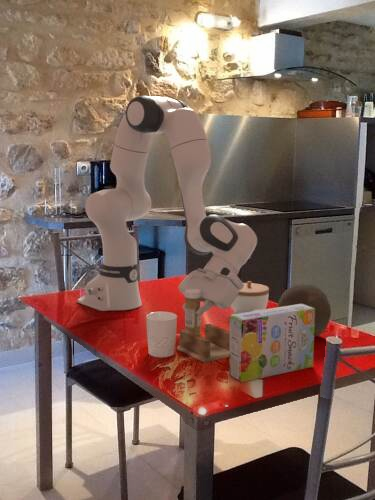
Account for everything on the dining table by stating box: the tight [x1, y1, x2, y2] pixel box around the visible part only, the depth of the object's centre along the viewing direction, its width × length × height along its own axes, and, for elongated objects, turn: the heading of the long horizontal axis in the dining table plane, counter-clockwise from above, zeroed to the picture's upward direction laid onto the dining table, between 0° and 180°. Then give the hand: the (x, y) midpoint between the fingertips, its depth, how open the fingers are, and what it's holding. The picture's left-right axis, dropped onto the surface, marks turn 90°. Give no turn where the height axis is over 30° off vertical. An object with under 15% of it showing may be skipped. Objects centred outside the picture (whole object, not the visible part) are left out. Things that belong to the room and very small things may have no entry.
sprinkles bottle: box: [184, 289, 202, 337], centre depth 162 cm, size 5×5×13 cm
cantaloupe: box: [277, 284, 332, 338], centre depth 162 cm, size 14×14×15 cm
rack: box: [176, 323, 230, 363], centre depth 151 cm, size 12×11×5 cm
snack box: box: [228, 304, 315, 383], centre depth 137 cm, size 21×6×15 cm, turn 118°
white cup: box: [145, 311, 178, 358], centre depth 149 cm, size 8×8×10 cm
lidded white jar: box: [230, 280, 270, 314], centre depth 183 cm, size 13×13×11 cm
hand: (191, 312), depth 161 cm, fingers closed on sprinkles bottle, 4 cm apart
